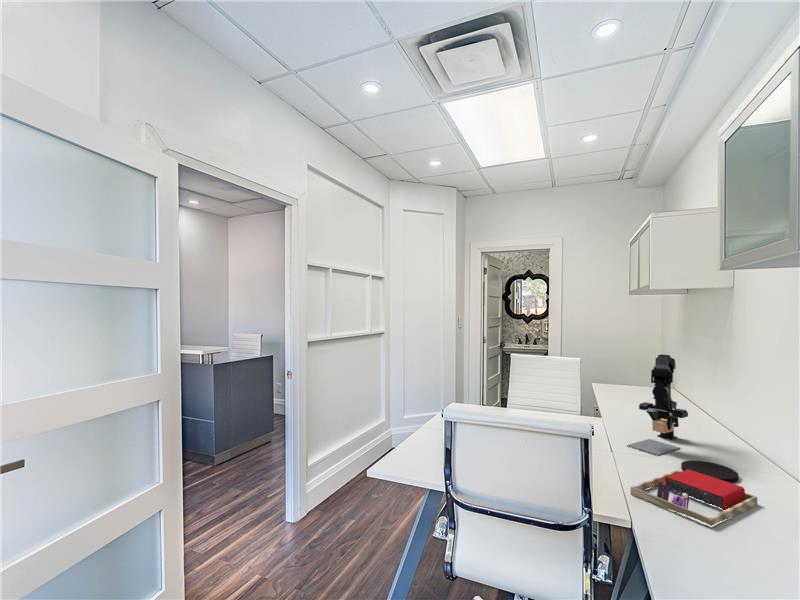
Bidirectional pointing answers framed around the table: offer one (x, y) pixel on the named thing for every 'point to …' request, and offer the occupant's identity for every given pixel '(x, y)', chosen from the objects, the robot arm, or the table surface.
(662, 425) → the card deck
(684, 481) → the red device housing
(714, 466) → the wireless charger
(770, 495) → the table surface
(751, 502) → the organizer frame
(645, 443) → the mat
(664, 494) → the game card
